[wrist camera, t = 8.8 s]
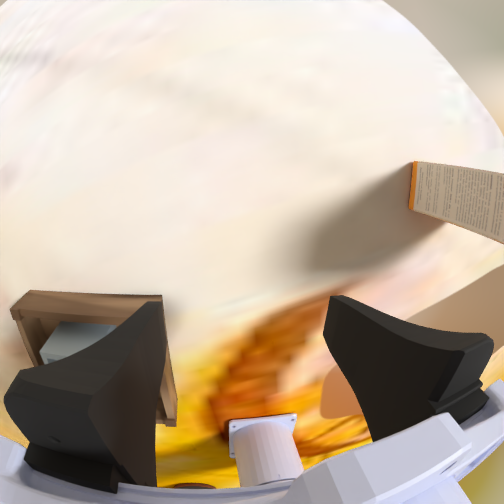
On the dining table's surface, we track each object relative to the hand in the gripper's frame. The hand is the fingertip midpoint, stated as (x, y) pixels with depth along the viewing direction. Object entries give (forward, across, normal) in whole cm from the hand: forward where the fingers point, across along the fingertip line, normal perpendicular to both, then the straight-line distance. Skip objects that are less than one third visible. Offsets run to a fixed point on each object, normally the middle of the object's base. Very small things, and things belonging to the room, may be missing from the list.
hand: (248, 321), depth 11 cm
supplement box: (+10, -20, -6) cm, 23 cm away
